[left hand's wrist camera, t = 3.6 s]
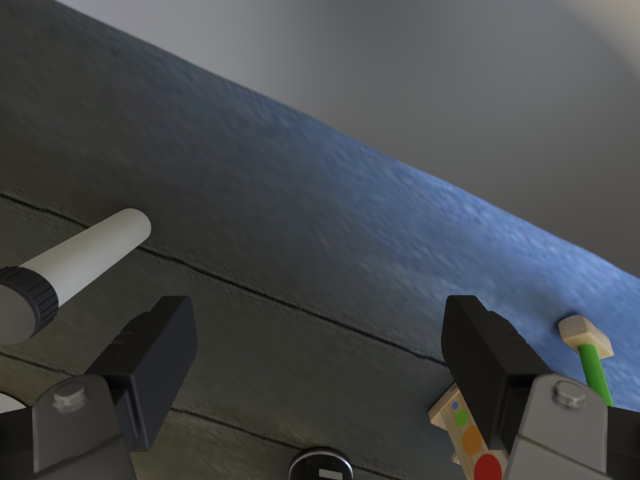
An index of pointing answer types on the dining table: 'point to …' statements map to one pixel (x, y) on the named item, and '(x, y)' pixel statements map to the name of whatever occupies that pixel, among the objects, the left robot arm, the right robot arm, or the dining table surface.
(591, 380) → the pounding bench toy
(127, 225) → the jar
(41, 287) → the lid
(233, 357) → the dining table surface
